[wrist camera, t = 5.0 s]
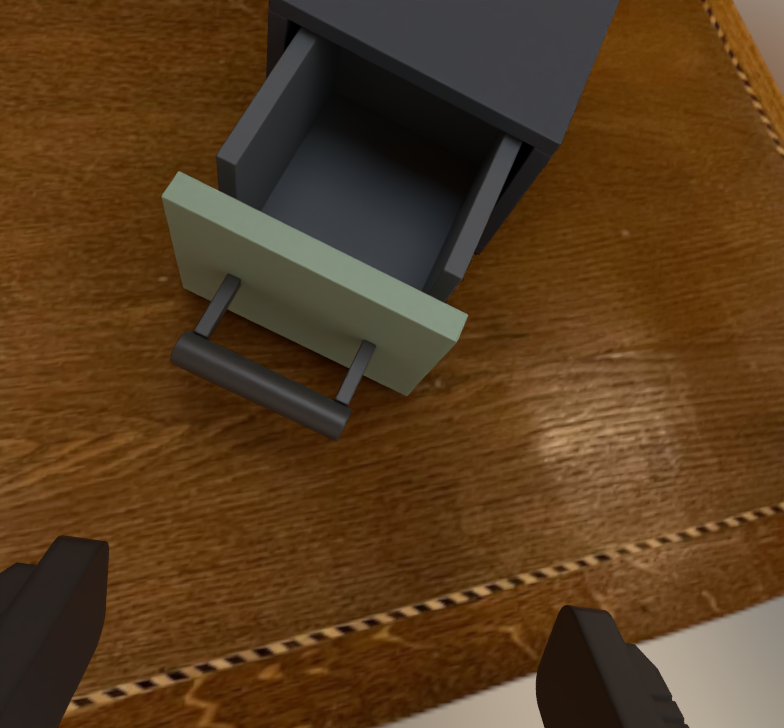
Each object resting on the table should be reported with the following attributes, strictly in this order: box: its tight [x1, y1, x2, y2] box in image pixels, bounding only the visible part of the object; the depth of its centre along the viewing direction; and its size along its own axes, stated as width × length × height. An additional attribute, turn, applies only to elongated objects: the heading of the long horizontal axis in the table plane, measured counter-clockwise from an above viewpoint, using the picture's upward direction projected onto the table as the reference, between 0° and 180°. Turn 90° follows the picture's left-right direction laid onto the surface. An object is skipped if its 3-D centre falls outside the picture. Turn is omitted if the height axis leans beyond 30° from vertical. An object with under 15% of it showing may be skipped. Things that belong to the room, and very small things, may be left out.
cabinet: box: [266, 0, 620, 254], centre depth 32 cm, size 15×13×10 cm
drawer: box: [162, 26, 523, 441], centre depth 28 cm, size 18×11×8 cm, turn 156°
